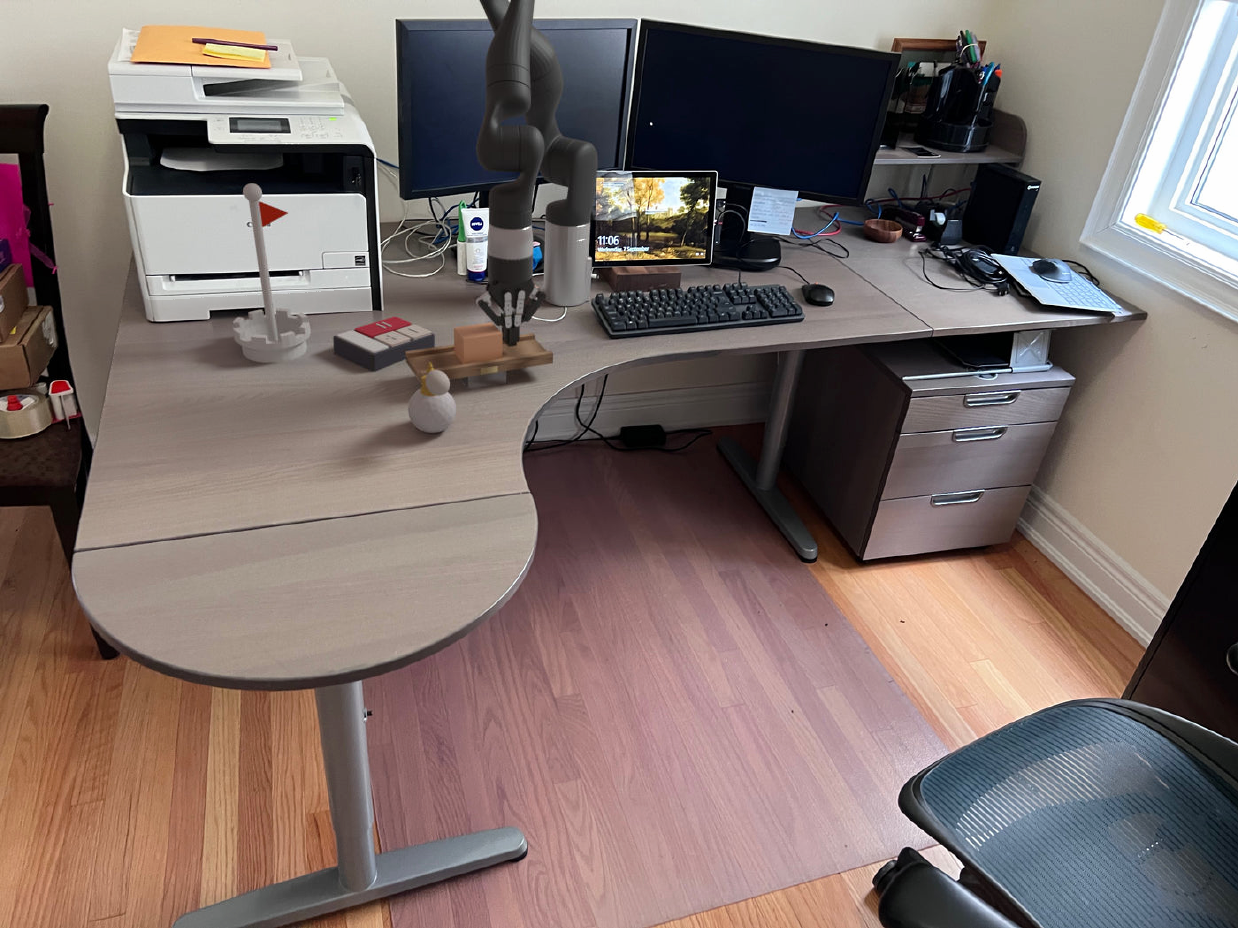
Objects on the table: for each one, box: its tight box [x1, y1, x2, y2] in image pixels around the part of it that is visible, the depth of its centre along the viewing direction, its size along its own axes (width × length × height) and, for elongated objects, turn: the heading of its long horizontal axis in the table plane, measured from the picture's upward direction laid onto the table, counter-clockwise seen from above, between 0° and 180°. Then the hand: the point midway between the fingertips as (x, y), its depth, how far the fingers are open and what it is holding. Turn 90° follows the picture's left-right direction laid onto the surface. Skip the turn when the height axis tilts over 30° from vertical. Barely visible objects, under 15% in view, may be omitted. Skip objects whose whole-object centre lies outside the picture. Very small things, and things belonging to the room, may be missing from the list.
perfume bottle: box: [407, 362, 457, 434], centre depth 141 cm, size 8×10×12 cm
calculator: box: [332, 316, 436, 373], centre depth 167 cm, size 11×4×15 cm
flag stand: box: [232, 182, 312, 364], centre depth 157 cm, size 13×13×30 cm
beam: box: [405, 332, 554, 390], centre depth 160 cm, size 24×9×5 cm, turn 118°
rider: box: [453, 321, 502, 364], centre depth 157 cm, size 7×5×5 cm
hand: (510, 344), depth 160 cm, fingers closed
